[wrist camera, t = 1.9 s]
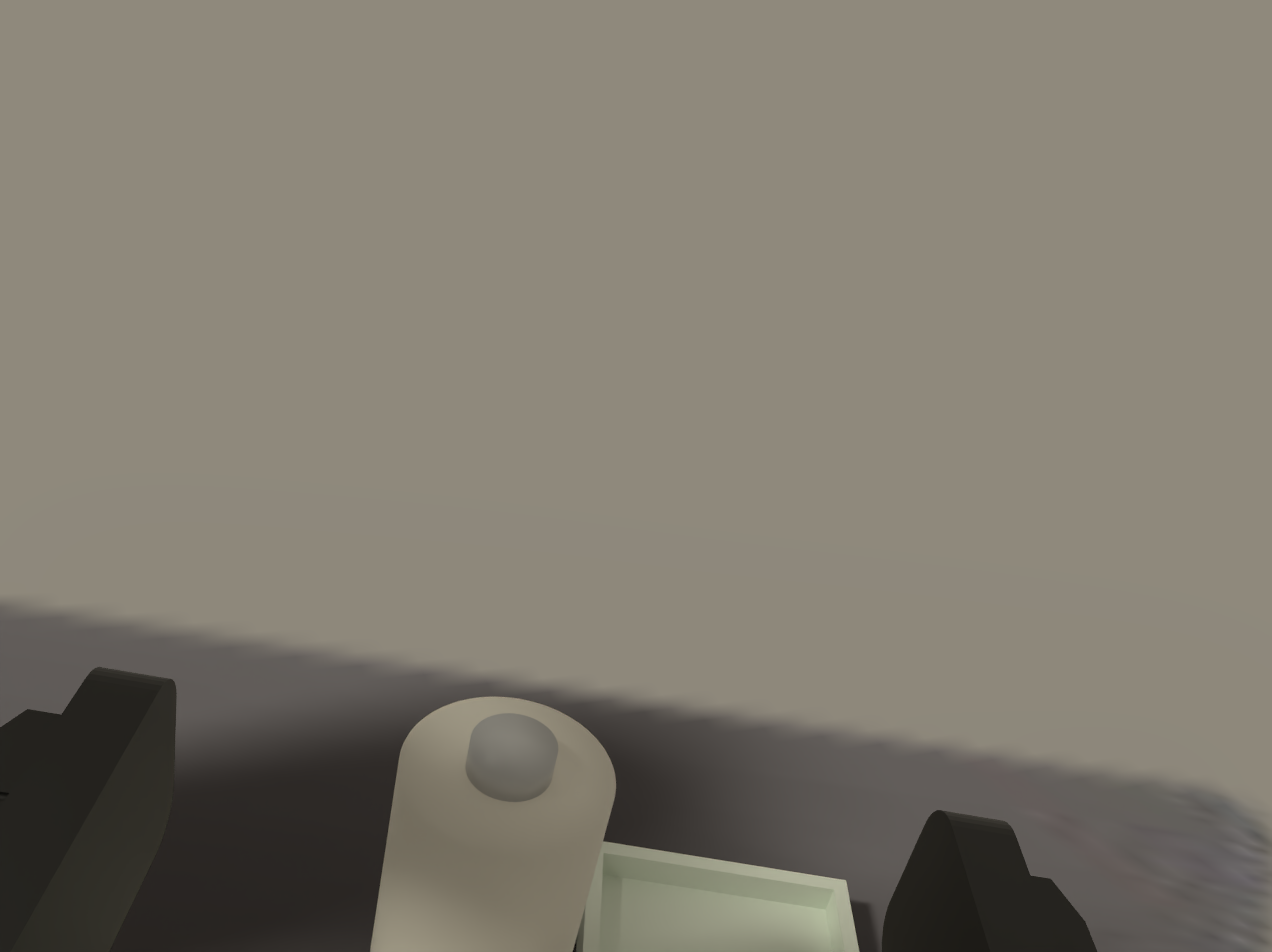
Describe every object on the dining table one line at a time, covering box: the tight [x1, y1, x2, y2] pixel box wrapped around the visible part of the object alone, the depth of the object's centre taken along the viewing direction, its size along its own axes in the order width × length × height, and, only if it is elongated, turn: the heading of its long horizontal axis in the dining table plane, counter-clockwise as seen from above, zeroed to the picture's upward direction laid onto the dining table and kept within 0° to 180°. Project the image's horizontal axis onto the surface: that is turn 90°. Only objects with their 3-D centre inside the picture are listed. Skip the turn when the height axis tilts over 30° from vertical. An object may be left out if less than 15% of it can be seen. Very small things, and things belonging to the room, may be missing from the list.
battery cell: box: [370, 697, 616, 952], centre depth 29 cm, size 5×5×13 cm
